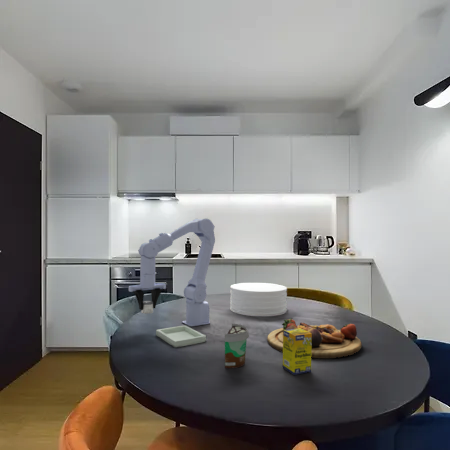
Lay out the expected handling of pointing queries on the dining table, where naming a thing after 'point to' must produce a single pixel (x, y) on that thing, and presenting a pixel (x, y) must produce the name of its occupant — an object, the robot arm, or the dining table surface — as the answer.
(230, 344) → the food container
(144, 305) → the shaker
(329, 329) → the wooden plate with food
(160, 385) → the dining table surface
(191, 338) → the tray
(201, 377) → the dining table surface
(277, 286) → the plate stack
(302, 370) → the supplement box
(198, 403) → the dining table surface
